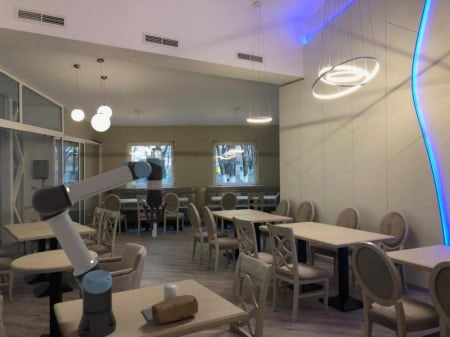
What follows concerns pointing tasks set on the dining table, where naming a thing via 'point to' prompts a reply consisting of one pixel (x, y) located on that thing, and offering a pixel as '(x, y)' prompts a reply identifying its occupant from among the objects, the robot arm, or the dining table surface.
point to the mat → (149, 316)
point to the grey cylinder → (170, 291)
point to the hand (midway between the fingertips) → (154, 236)
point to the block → (175, 308)
